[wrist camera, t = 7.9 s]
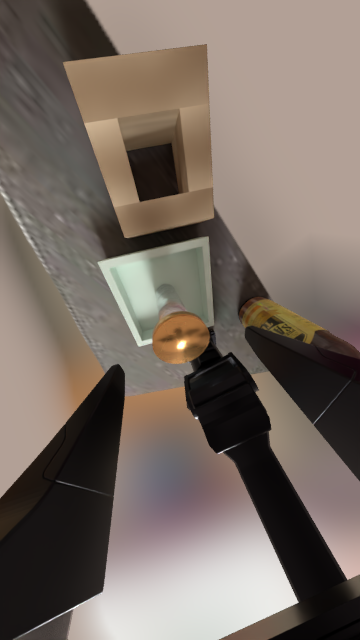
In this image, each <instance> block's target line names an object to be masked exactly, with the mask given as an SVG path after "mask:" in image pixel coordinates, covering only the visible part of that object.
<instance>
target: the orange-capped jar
mask: <svg viewBox="0 0 360 640" xmlns="http://www.w3.org/2000/svg"><path fill="white" fill-rule="evenodd" d="M156 302H157V309H158V317H159V321H158V323H157V324H156V325H155V327H154V330H153V333H152V343H153V350H154V352H155V354H156V355H157V357H158V358H160V359H161V360H163V361H165V362H168V363H173V364H180V363H185V362H189V361H191V360H193V359H195V358H197V357H198V356H200V355H201V354H202V353H203V352H204V351H205V349H206V348H207V346H208V344H209V340H210V334H209V330H208V328H207V327H206V325H205V324H204V322H203V321H202V319H201V318H200V317H199V316H197V315H196V314H194V313H191V312H187V310H186V308H185V306H184V304H183V302H182V301H181V299H180V297H179V295H178V293H177V292H176V290H175V288H174V287H173V286H172V285H170V284H162V285H160V286H159V287H158V288H157V290H156Z"/></svg>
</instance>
